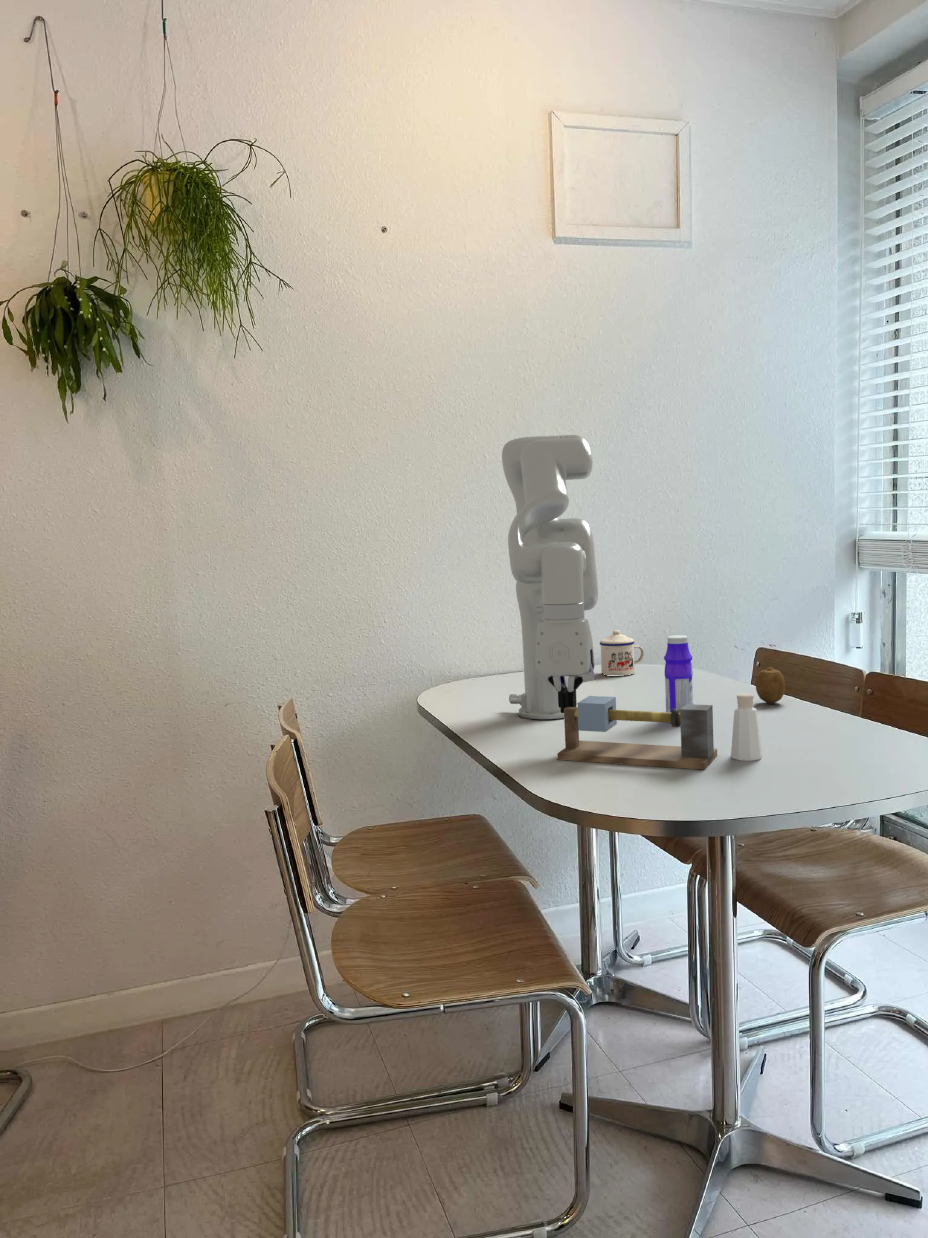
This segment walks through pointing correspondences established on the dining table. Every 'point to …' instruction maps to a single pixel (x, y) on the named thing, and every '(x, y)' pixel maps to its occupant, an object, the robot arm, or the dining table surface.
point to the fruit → (770, 685)
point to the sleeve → (596, 713)
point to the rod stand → (690, 754)
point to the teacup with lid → (618, 654)
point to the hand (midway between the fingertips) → (567, 711)
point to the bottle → (678, 673)
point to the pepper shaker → (746, 730)
